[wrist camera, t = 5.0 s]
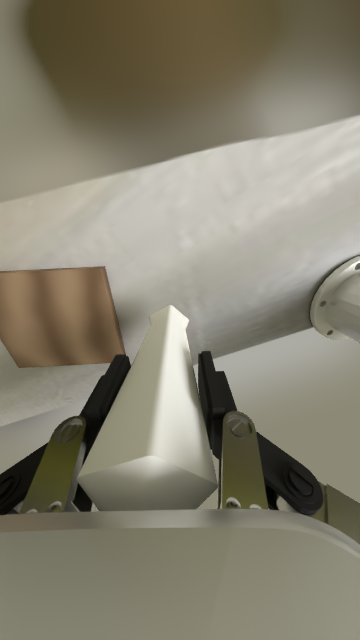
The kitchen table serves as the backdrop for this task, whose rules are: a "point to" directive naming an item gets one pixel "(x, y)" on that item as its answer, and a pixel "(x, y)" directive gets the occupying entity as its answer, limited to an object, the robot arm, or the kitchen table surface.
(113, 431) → the white tall faceted piece
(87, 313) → the walnut board
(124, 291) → the kitchen table surface
